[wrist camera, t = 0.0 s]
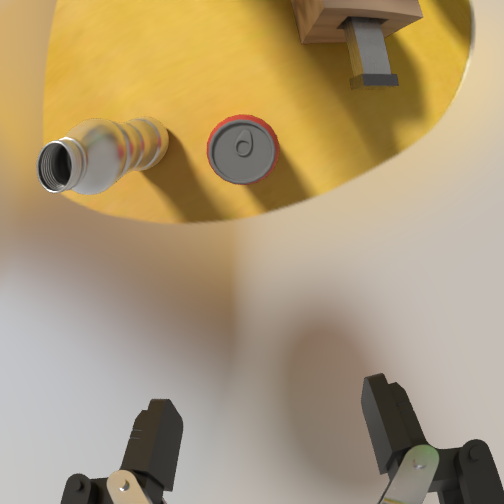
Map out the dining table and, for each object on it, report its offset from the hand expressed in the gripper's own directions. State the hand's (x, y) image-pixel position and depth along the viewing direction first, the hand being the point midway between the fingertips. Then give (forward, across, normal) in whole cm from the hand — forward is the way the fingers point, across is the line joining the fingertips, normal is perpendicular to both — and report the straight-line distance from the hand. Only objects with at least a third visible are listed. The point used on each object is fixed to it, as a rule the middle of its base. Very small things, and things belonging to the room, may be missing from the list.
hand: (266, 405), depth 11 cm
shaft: (+23, -14, -22) cm, 35 cm away
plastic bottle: (+30, +12, -11) cm, 34 cm away
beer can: (+30, 0, -8) cm, 31 cm away
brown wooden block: (+29, -14, -24) cm, 40 cm away
